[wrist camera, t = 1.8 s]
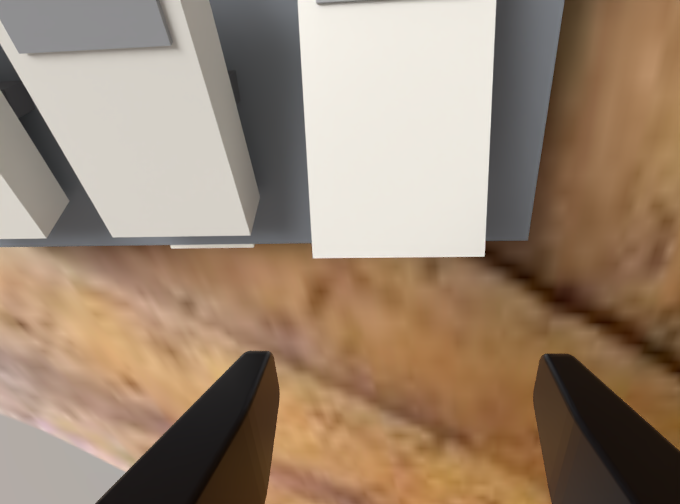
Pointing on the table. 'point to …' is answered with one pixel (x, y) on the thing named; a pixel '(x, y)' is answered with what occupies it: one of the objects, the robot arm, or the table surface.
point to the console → (289, 125)
